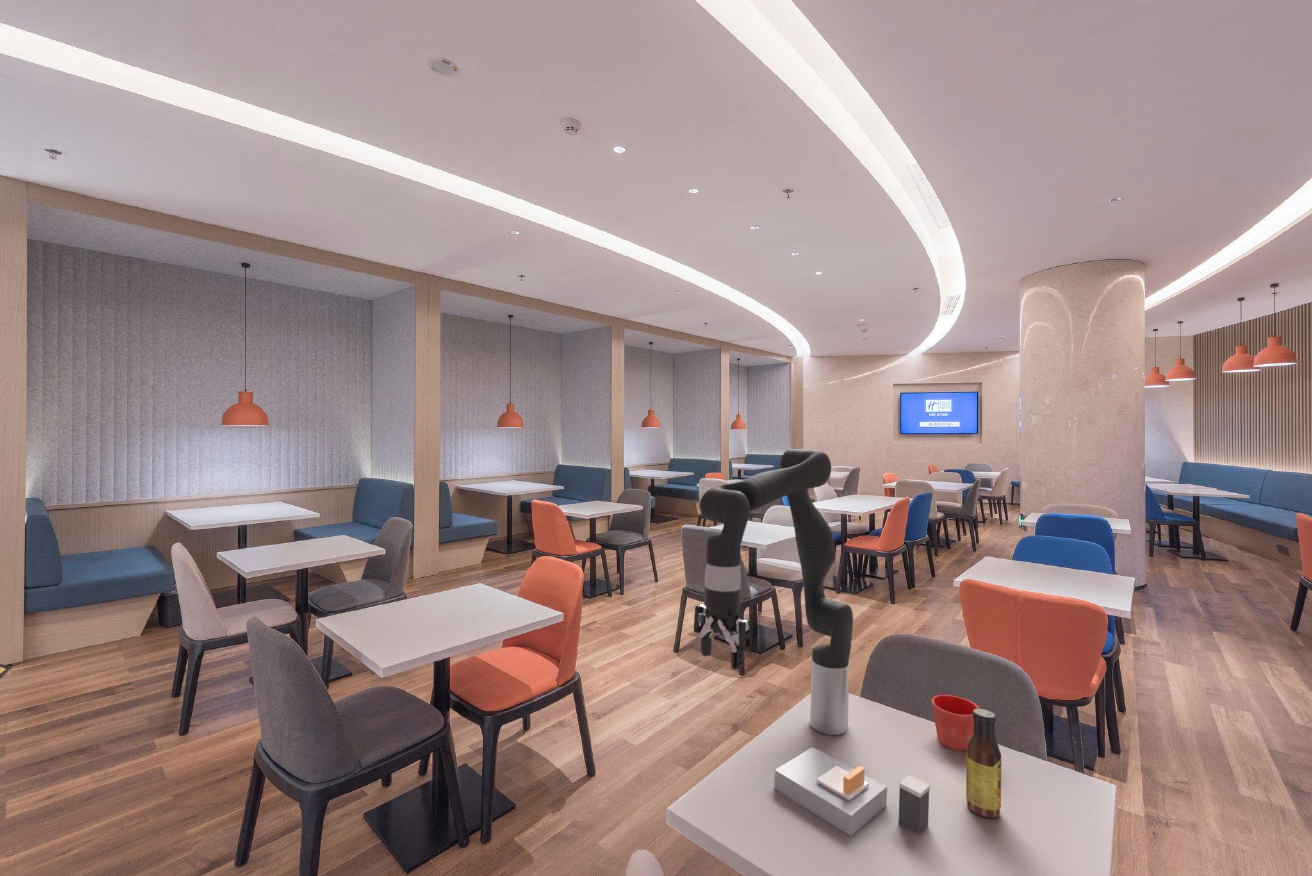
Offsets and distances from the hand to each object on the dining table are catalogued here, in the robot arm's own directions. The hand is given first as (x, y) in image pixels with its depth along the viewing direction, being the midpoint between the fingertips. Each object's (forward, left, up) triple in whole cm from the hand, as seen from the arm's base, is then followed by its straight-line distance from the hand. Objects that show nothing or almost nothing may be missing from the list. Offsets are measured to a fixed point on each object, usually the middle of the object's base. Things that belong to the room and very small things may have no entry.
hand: (720, 661), depth 115 cm
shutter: (-19, +18, -24) cm, 35 cm away
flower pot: (-63, +23, -29) cm, 73 cm away
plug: (-25, +30, -29) cm, 48 cm away
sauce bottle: (-41, +37, -29) cm, 62 cm away
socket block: (-19, +15, -29) cm, 37 cm away
